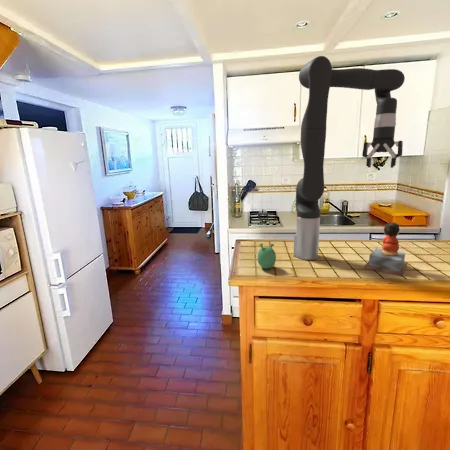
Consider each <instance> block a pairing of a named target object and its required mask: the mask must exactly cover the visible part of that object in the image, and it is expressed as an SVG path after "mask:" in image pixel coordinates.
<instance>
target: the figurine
mask: <svg viewBox="0 0 450 450" xmlns="http://www.w3.org/2000/svg"><path fill="white" fill-rule="evenodd" d="M383 234H384V235H385V237H384V238H383V239H382V244H381V247H382V248H381V249H383V250H382V252H381V253H383V254H385V255H391V256H395V255H399V254H398V252H399V249H400V245H399V244H400V242H399V239H398V238H397V236H398V235H399V234H400V226H399V224H397V223H396V222H393V221H391V222H389V221H388V222H387V223H386V224H385V226H384V227H383Z"/></svg>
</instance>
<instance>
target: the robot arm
mask: <svg viewBox="0 0 450 450" xmlns="http://www.w3.org/2000/svg"><path fill="white" fill-rule="evenodd" d="M298 80H299V83H300V85H301V86H302V87H303V88H306V89H308V102H307V105H306V109H305V112H304V115H303V118H302V121H301V126H300V150H301V155H302V159H303V160H302V161H303V176H302V178H301V179H299V181H298V182H297V184H296V187H295V188H296V189H295V209H296V233H295V234H294V235H293V257H296V258H298V259H301V260H309V261H310V260H317V259H318V258H319V243H320V241H319V240H320V228H321V227H320V226H321V209H320V206H319V200H320V199H321V198H322V197H323V195H324V191H325V177H324V176H325V175H324V174H325V173H324V161H325V152H326V151H325V149H326V138H327V137H326V136H327V120H328V119H327V118H328V104H329V102H328V101H329V94H330V88H342V89H355V90H366V91H370V90H374V95H375V101H376V109H375V110H376V111H375V119H374V124H373V135H372V136H373V137H372V141H371V142H368V141H367V142H366V141H365V142H364V143H363V147H362V149H363V150H362V155H361V156H362V157H364V158H366V164H365V165H366V167H367V168H371V166H372V157H373V156H374V155H375V154H376V153H388V154H390V156H391V160H390V169H393V168H394V167H395V166H396V165H397V164H396V163H397V158H399V157H402V156H403V144H404V142H403V140H398V141H395V132H396V125H397V110H398V109H397V108H398V107H397V106H398V100H397V98H396V97H392V95H391V91H392V92H393V91H396V90H398V89H400V88H401V87H402V86H403V85H404V83H405V75H404V73H403V72H402V71H401V70H399V69H396V68H395V69H394V68H392V69H389V68H388V69H370V68H362V67H361V68H360V67H359V68H358V67H355V68H354V67H353V68H344V69H342V68H341V69H333V68H332V63H331V61H330V59H328V57H326V56H323V55H318V56H316V57H314V58H312V59H311V60H310V61H308V62H307V63H306V64H304V65H303V66H302V67H301V69H300V70H299V73H298ZM394 145H396V148H397V153H395V151H394V150H393V147H394ZM370 147H371V148H372V150H371V151H370V152H368V149H369V148H370Z"/></svg>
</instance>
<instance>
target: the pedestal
mask: <svg viewBox="0 0 450 450" xmlns="http://www.w3.org/2000/svg"><path fill="white" fill-rule="evenodd" d="M382 250H383V248H378V247H377V248H375V249H374V250H373V251H372V252H371V253H370V254H369V259H368V262H367V263H366V264H365V265H364V269H366V270H371V271H376V272H381V273H385V274H390V275H395V276H400V277H402V276H403V275H404V273H405V271H406V268H407V267H408V262H406V261H405V258H406V252H401V251H397V252H398V254H399V255H395V256H391V255H385V254H383V253H381V252H382Z"/></svg>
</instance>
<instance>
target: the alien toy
mask: <svg viewBox="0 0 450 450" xmlns="http://www.w3.org/2000/svg"><path fill="white" fill-rule="evenodd" d="M263 245H264V243H261V242H260V243H259V247H261V248H259V249H258V252H257V257H256V258H257V262H258V265H259V266H260V267H261V268H262V269H266V270H267V269H268V270H269V269H271V268H273V267H274V265H275V263H276V261H277V260H276V259H277V254H276V252H275V250H274V248H272V247H274V246H275V244H274V243H269V245H270V246H263Z"/></svg>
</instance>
